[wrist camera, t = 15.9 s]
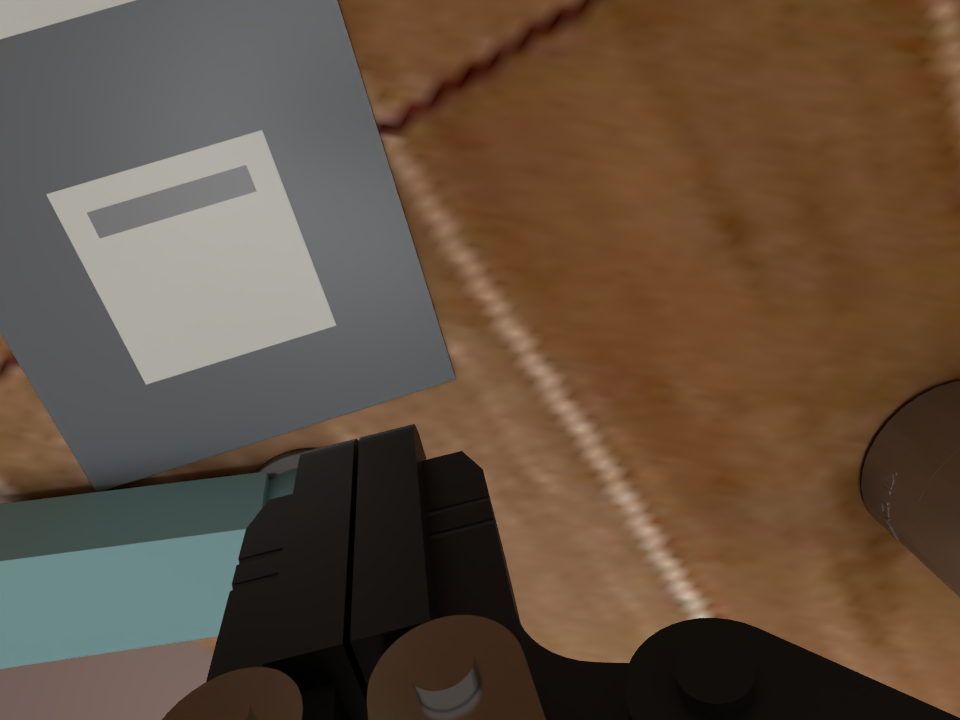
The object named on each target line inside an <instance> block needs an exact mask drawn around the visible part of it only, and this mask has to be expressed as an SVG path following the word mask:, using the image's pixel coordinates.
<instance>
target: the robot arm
mask: <svg viewBox="0 0 960 720" xmlns="http://www.w3.org/2000/svg"><path fill="white" fill-rule="evenodd" d="M861 489H862V495H863V500H864V502H865V504H866V506H867V508H868V511H869V512H870V513H871V514H872V516H873V517H874V518H875V519H876V520H877V521H878V522H879V523H880V524H881V525H883V526H884V527H885V528H886V529H887V530H888V531H889V532H890V534H891V535H892V536H893V537H895V538H896V539H897V540H899V541H900V542H901V543H902V544H903V545H904V546H905V547H906V548H907V549H909V550H910V551H911V552H912V553H913V554H914V555H915V556H916V557H917V558H918V559H919V560H920V561H922V562H923V564H924V565H925V566H926V567H928V568H929V569H930V570H931V571H932V572H933V573H934V574H935V575H936V576H937V577H938V578H939V579H941V580H942V581H943V582H944V583H945V584H946V585H947V586H948V587H949V588H950V589H951V590H952V591H954V592H955V593H956V594H957V595H958V596H959V597H960V381H955V382H951V383H948V384H945V385H942V386H939V387H936V388H934V389H932V390H930V391H928V392H926V393H924V394H922V395H920V396H918V397H917V398H915V399H914V400H913V401H911V402H910V403H909V404H907V405H906V406H904V407H903V408H902V409H901V410H900V411H899V412H898V413H897V414H896V415H895V416H894V417H893V418H892V419H890V420H889V421H888V422H887V424H886V425H885V426H884V428H883V429H882V430H881V432H880V433H879V434H878V436H877V437H876V439H875V440H874V442H873V444H872V446H871V448H870V450H869V452H868V454H867V457H866V460H865V464H864V467H863V470H862V481H861ZM238 560H239V565H236V569H235V573H234V577H233V581H232V588H233V590H232V591H230V592H229V596H228V600H227V604H226V608H225V612H224V615H223V619H222V623H221V627H220V631H219V635H218V638H217V642H216V646H215V650H214V654H213V658H212V662H211V665H210V670H209V673H208V677H207V681H206V683H204V684H202V685H201V686H199V687H198V688H196V689H195V690H193V691H192V692H190V693H189V694H188V695H187V696H185V697H184V698H183V699H182V700H181V701H179V702H178V703H177V704H176V705H175V706H174V707H173V708H172V709H171V710H170V711H169V712H168V713H167V714H166V716H165V717H164V718H163V719H162V720H960V718H958V717H956V716H954V715H952V714H950V713H947V712H945V711H943V710H941V709H938V708H936V707H934V706H932V705H929V704H927V703H925V702H923V701H920V700H918V699H916V698H914V697H911V696H909V695H907V694H905V693H902V692H900V691H898V690H896V689H893V688H891V687H889V686H887V685H884V684H882V683H880V682H878V681H875V680H873V679H871V678H869V677H867V676H864V675H862V674H860V673H858V672H855V671H853V670H851V669H849V668H846V667H844V666H842V665H840V664H837V663H835V662H833V661H831V660H828V659H826V658H824V657H822V656H819V655H817V654H815V653H813V652H810V651H808V650H806V649H804V648H801V647H799V646H797V645H795V644H792V643H790V642H788V641H786V640H784V639H781V638H779V637H777V636H775V635H772V634H770V633H768V632H766V631H763V630H761V629H759V628H756V627H754V626H751V625H748V624H745V623H742V622H738V621H733V620H729V619H719V618H699V619H692V620H686V621H682V622H679V623H676V624H672V625H670V626H668V627H666V628H664V629H662V630H659V631H658V632H656V633H655V634H654V635H652V636H651V637H649V638H648V639H647V640H646V641H645V642H644V643H643V644H642V645H641V646H640V647H639V648H638V649H637V651H636V652H635V654H634V655H633V657H632V659H631V661H630V663H602V662H587V661H578V660H574V659H570V658H565V657H563V656H560V655H557V654H555V653H552V652H551V651H549V650H547V649H545V648H543V647H542V646H540V645H539V644H538V643H536V642H535V641H534V640H533V639H532V638H531V637H530V636H529V635H528V634H527V633H526V632H525V631H524V629H523V627H522V626H521V623H520V619H519V614H518V610H517V606H516V602H515V597H514V593H513V589H512V585H511V580H510V576H509V572H508V568H507V563H506V559H505V555H504V551H503V547H502V543H501V540H500V536H499V532H498V528H497V524H496V520H495V516H494V512H493V508H492V504H491V500H490V496H489V492H488V488H487V484H486V480H485V476H484V473H483V469H482V468H481V467H479V466H478V465H477V464H476V463H475V462H474V461H473V460H471V459H470V458H469V457H468V456H467V455H466V454H464V453H463V452H462V451H460V452H456V453H452V454H448V455H444V456H440V457H436V458H432V459H428V460H426V457H425V453H424V450H423V446H422V443H421V440H420V436H419V433H418V431H417V428H416V426H415V424H413V425H409V426H405V427H401V428H397V429H393V430H389V431H385V432H381V433H377V434H373V435H369V436H365V437H361V438H360V440H359V441H358V439H354V440H350V441H346V442H342V443H338V444H334V445H330V446H326V447H322V448H318V449H314V450H310V451H306V452H302V453H301V454H300V457H299V462H298V468H297V473H296V479H295V484H294V490H293V494H290V495H286V496H282V497H278V498H274V499H270V500H268V501H267V502H266V504H265V505H264V506H263V508H262V509H261V510H260V512H259V513H258V514H257V515H256V517H255V518H254V519H253V521H252V522H251V523H250V524H249V526H248V527H247V528H246V531H245V535H244V539H243V542H242V546H241V550H240V554H239V558H238Z"/></svg>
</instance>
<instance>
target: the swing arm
mask: <svg viewBox="0 0 960 720" xmlns="http://www.w3.org/2000/svg"><path fill="white" fill-rule="evenodd" d="M296 473H297V468H295V469H291V470H288V471H286V472H283V473H281V474H279V475H277V476H276V477H274V478H273V479H271V480H270V481H269V478H268V472H267V471H266V472H258V473H250V474H241V475H233V476H225V477H217V478H209V479H201V480H192V481H184V482H176V483H168V484H160V485H151V486H143V487H135V488H127V489H119V490H111V491H102V492H94V493H86V494H78V495H70V496H61V497H53V498H45V499H37V500H29V501H21V502H12V503H4V504H0V669H3V668H9V667H16V666H22V665H29V664H36V663H43V662H49V661H55V660H63V659H69V658H75V657H83V656H89V655H95V654H102V653H109V652H116V651H123V650H129V649H136V648H142V647H149V646H156V645H163V644H169V643H176V642H182V641H189V640H196V639H203V638H209V637H216V636H218V635H219V631H220V627H221V623H222V619H223V615H224V612H225V608H226V604H227V600H228V596H229V592H230V591H232V590H233V588H232V581H233V577H234V573H235V569H236V565H239V560H238V558H239V554H240V550H241V546H242V542H243V539H244V535H245V531H246V528H247V527H248V526H249V524H250V523H251V522H252V521H253V519H254V518H255V517H256V515H257V514H258V513H259V512H260V510H261V509H262V508H263V506H264V505H265V504H266V502H267V501H268V500H270V499H274V498H278V497H282V496H286V495H290V494H293V490H294V484H295V479H296Z"/></svg>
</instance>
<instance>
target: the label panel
mask: <svg viewBox="0 0 960 720" xmlns="http://www.w3.org/2000/svg"><path fill="white" fill-rule="evenodd" d="M0 333H1V335H2V336H3V338H4V340H5V341H6V343H7V345H8V346H9V348H10V350H11V351H12V353H13V355H14V356H15V358H16V360H17V361H18V363H19V365H20V366H21V368H22V370H23V371H24V373H25V375H26V376H27V378H28V380H29V381H30V383H31V385H32V386H33V388H34V390H35V391H36V393H37V394H38V396H39V398H40V399H41V401H42V403H43V404H44V406H45V408H46V409H47V411H48V413H49V414H50V416H51V418H52V419H53V421H54V423H55V424H56V426H57V428H58V429H59V431H60V433H61V434H62V436H63V438H64V439H65V441H66V443H67V444H68V446H69V448H70V449H71V451H72V453H73V454H74V456H75V458H76V459H77V461H78V463H79V464H80V466H81V468H82V469H83V471H84V473H85V474H86V476H87V478H88V479H89V481H90V483H91V484H92V486H93V488H94V489H95V491H96V492H101V491H104V490H107V489H111V488H114V487H117V486H120V485H123V484H126V483H130V482H133V481H136V480H139V479H142V478H145V477H149V476H152V475H155V474H158V473H161V472H164V471H168V470H171V469H174V468H177V467H180V466H183V465H186V464H190V463H193V462H196V461H199V460H202V459H205V458H209V457H212V456H215V455H218V454H221V453H224V452H228V451H231V450H234V449H237V448H240V447H243V446H247V445H250V444H253V443H256V442H259V441H262V440H266V439H269V438H272V437H275V436H278V435H281V434H285V433H288V432H291V431H294V430H297V429H300V428H304V427H307V426H310V425H313V424H316V423H319V422H323V421H326V420H329V419H332V418H335V417H338V416H342V415H345V414H348V413H351V412H354V411H357V410H361V409H364V408H367V407H370V406H373V405H376V404H380V403H383V402H386V401H389V400H392V399H395V398H399V397H402V396H405V395H408V394H411V393H414V392H418V391H421V390H424V389H427V388H430V387H433V386H437V385H440V384H443V383H446V382H449V381H452V380H456V378H455V375H454V371H453V368H452V365H451V362H450V359H449V355H448V352H447V349H446V346H445V343H444V339H443V336H442V333H441V330H440V327H439V323H438V320H437V317H436V314H435V311H434V308H433V304H432V301H431V298H430V295H429V292H428V288H427V285H426V282H425V279H424V276H423V272H422V269H421V266H420V263H419V260H418V256H417V253H416V250H415V247H414V244H413V240H412V237H411V234H410V231H409V228H408V224H407V221H406V218H405V215H404V212H403V208H402V205H401V202H400V199H399V196H398V192H397V189H396V186H395V183H394V180H393V177H392V173H391V170H390V167H389V164H388V161H387V157H386V154H385V151H384V148H383V145H382V141H381V138H380V135H379V132H378V129H377V125H376V122H375V119H374V116H373V113H372V109H371V106H370V103H369V100H368V97H367V93H366V90H365V87H364V84H363V81H362V77H361V74H360V71H359V68H358V65H357V61H356V58H355V55H354V52H353V49H352V46H351V42H350V39H349V36H348V33H347V30H346V26H345V23H344V20H343V17H342V14H341V10H340V7H339V4H338V1H337V0H0Z"/></svg>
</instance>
